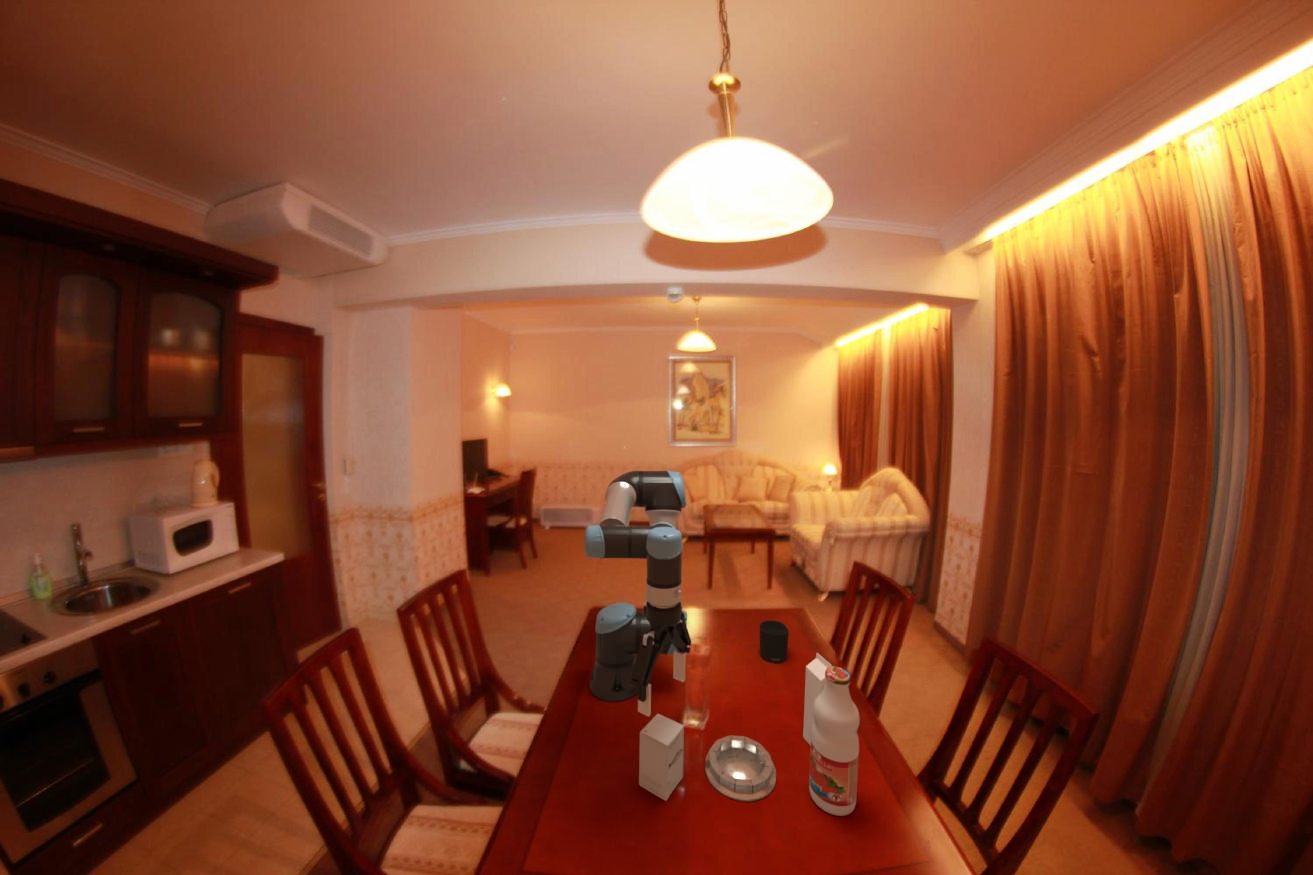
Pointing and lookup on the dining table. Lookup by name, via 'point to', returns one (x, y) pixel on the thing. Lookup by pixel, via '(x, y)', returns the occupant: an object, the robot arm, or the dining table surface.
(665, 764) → the supplement box
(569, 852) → the dining table surface
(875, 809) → the dining table surface
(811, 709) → the milk
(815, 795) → the fruit juice
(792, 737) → the dining table surface
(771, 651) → the black smart speaker
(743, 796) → the silver round shallow dish
